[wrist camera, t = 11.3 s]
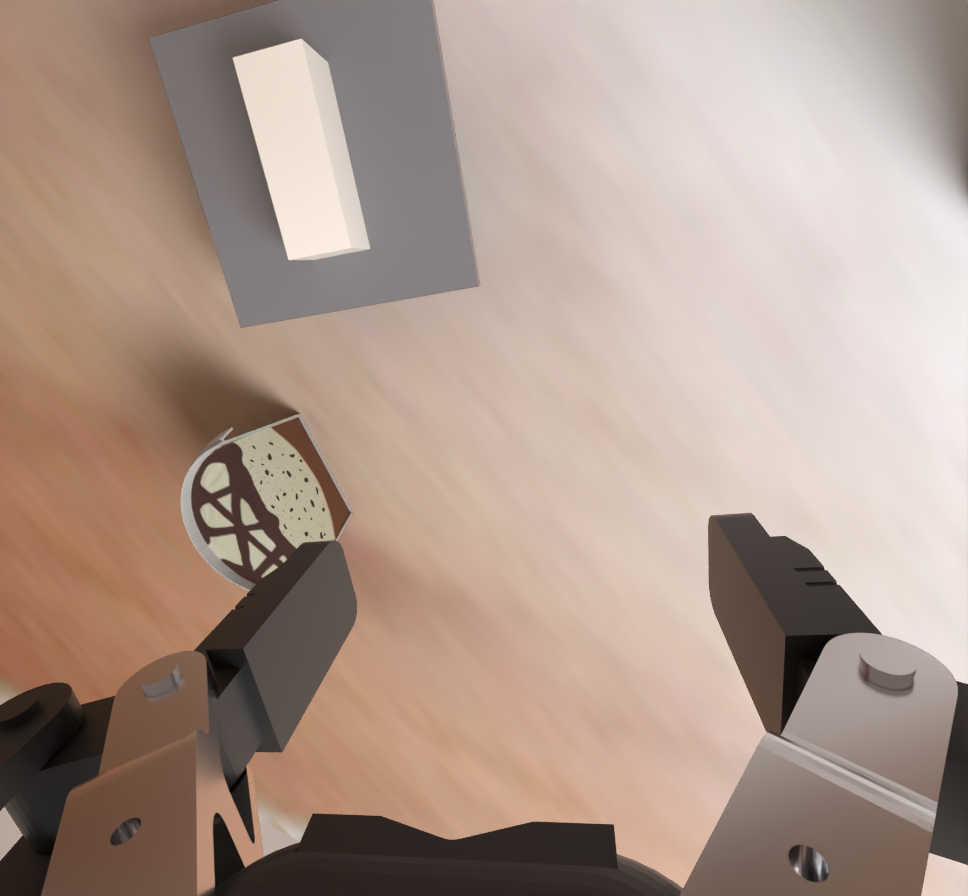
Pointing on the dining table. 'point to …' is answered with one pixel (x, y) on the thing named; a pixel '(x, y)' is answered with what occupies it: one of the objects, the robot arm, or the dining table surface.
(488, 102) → the dining table surface
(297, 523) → the food container
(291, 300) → the lid
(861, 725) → the robot arm
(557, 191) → the dining table surface
